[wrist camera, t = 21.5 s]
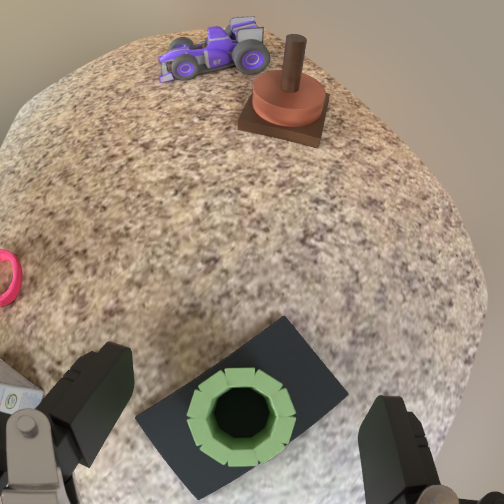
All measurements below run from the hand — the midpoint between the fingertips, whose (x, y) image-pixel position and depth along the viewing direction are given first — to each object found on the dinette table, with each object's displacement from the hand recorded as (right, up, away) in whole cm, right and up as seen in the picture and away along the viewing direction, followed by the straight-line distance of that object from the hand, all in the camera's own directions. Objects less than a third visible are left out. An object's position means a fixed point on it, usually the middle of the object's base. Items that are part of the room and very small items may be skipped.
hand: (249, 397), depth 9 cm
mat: (-1, -7, +12) cm, 14 cm away
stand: (+4, +21, +25) cm, 33 cm away
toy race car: (-6, +32, +31) cm, 44 cm away
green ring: (-1, -7, +11) cm, 13 cm away
